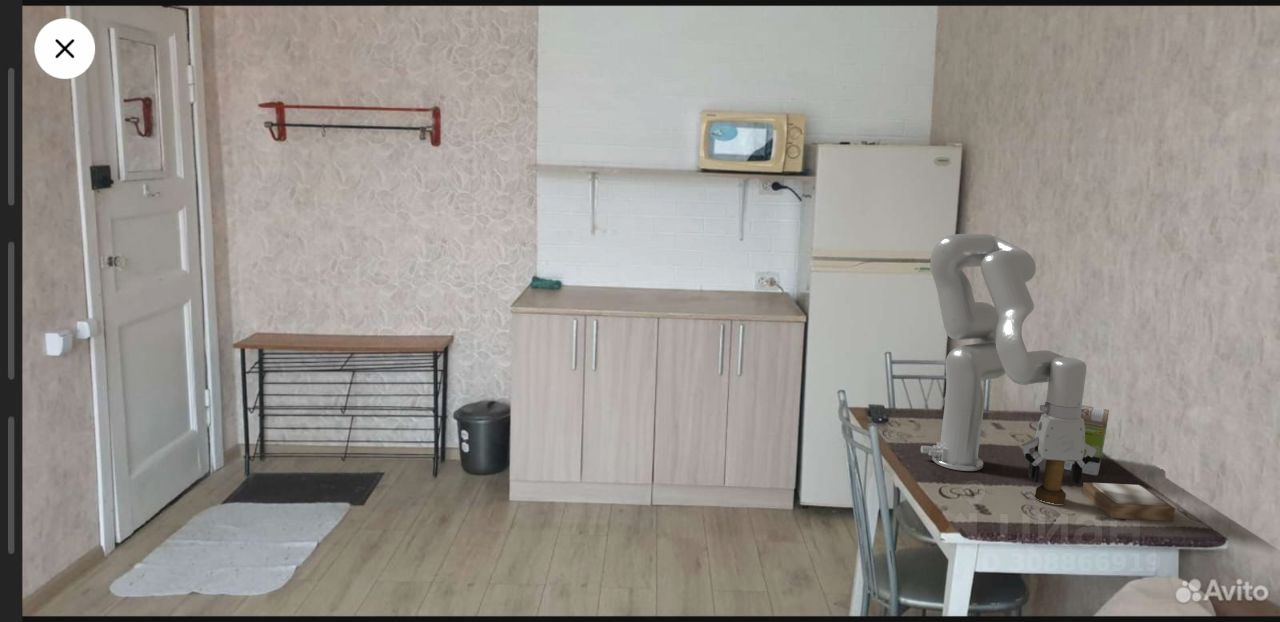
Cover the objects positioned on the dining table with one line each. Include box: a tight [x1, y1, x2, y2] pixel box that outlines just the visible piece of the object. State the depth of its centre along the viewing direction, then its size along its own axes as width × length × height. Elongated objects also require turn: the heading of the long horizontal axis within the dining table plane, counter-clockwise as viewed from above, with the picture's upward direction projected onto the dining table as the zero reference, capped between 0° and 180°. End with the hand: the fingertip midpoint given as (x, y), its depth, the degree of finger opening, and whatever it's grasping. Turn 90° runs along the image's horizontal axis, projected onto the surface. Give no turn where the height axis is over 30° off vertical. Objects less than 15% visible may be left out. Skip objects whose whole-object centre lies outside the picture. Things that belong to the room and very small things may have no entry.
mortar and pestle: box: [1034, 460, 1067, 505], centre depth 209 cm, size 7×6×18 cm
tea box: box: [1064, 404, 1110, 477], centre depth 236 cm, size 15×10×15 cm, turn 151°
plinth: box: [1081, 481, 1176, 522], centre depth 208 cm, size 14×14×4 cm
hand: (1054, 481), depth 209 cm, fingers open, 9 cm apart
